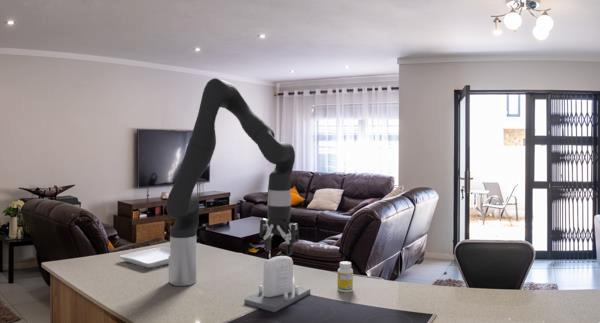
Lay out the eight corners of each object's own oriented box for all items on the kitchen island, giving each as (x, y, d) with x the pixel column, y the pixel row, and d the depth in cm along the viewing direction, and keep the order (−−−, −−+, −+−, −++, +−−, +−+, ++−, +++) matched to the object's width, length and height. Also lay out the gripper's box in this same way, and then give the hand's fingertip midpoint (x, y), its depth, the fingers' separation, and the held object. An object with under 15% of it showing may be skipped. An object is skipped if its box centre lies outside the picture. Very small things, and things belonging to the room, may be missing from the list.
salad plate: (160, 253, 199) (160, 245, 199) (190, 260, 186) (190, 252, 186) (118, 263, 182) (118, 255, 182) (148, 272, 169) (148, 263, 169)
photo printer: (287, 289, 146) (287, 252, 145) (294, 292, 142) (295, 255, 142) (261, 295, 139) (261, 257, 139) (268, 299, 136) (268, 260, 135)
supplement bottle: (350, 293, 146) (350, 265, 146) (335, 291, 148) (335, 263, 148) (354, 288, 151) (354, 261, 151) (339, 286, 153) (340, 259, 153)
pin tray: (244, 303, 136) (244, 291, 136) (281, 286, 152) (282, 275, 152) (274, 312, 129) (274, 299, 129) (310, 293, 146) (310, 281, 146)
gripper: (303, 204, 138) (302, 254, 139) (269, 200, 146) (268, 247, 147) (290, 207, 132) (289, 259, 133) (254, 202, 140) (254, 251, 141)
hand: (278, 252), depth 140 cm, fingers open, 8 cm apart
